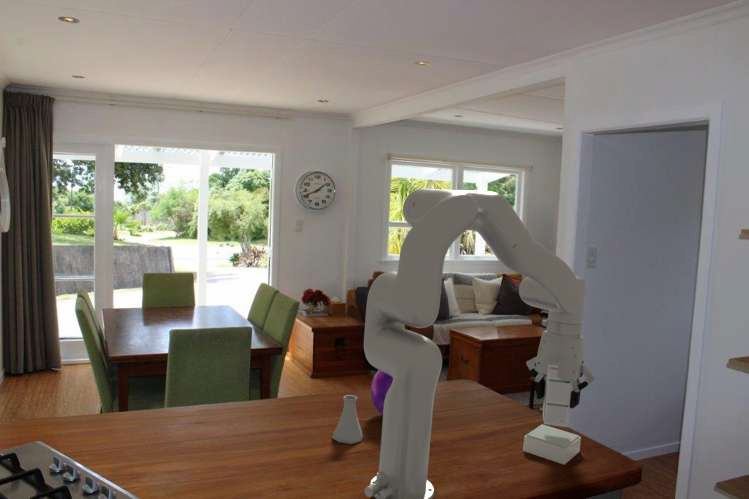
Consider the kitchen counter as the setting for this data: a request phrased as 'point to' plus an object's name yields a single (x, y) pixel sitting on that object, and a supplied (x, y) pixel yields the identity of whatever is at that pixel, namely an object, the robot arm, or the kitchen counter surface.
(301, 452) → the kitchen counter surface
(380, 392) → the decorative orb
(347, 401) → the flask
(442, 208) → the robot arm
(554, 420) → the syrup box
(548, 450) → the block
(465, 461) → the kitchen counter surface
